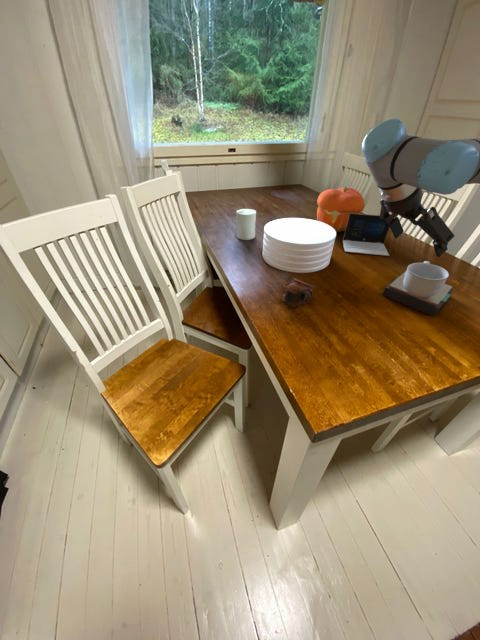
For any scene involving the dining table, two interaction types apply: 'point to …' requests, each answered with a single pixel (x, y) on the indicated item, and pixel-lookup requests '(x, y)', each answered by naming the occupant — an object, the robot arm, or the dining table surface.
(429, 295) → the teacup
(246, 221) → the can
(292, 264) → the plate stack
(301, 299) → the pottery mug
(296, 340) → the dining table surface
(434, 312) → the scale
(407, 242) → the dining table surface
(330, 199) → the pumpkin
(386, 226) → the laptop
